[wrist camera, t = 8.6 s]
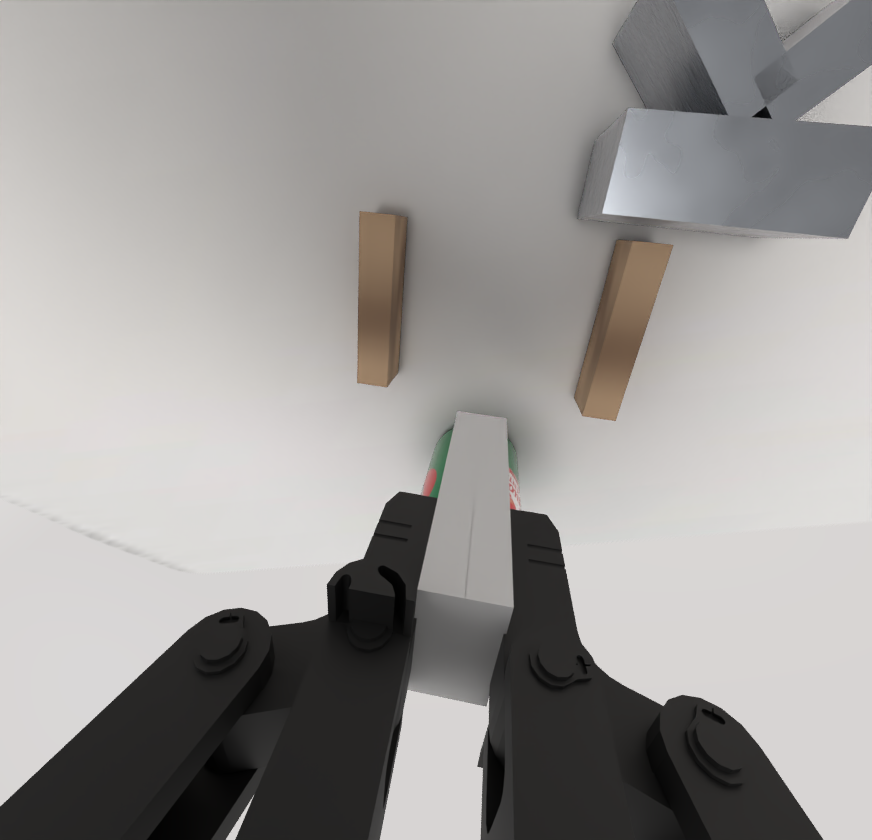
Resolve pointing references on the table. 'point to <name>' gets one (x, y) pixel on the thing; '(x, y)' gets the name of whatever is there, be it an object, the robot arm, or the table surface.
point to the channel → (609, 343)
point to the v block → (734, 123)
